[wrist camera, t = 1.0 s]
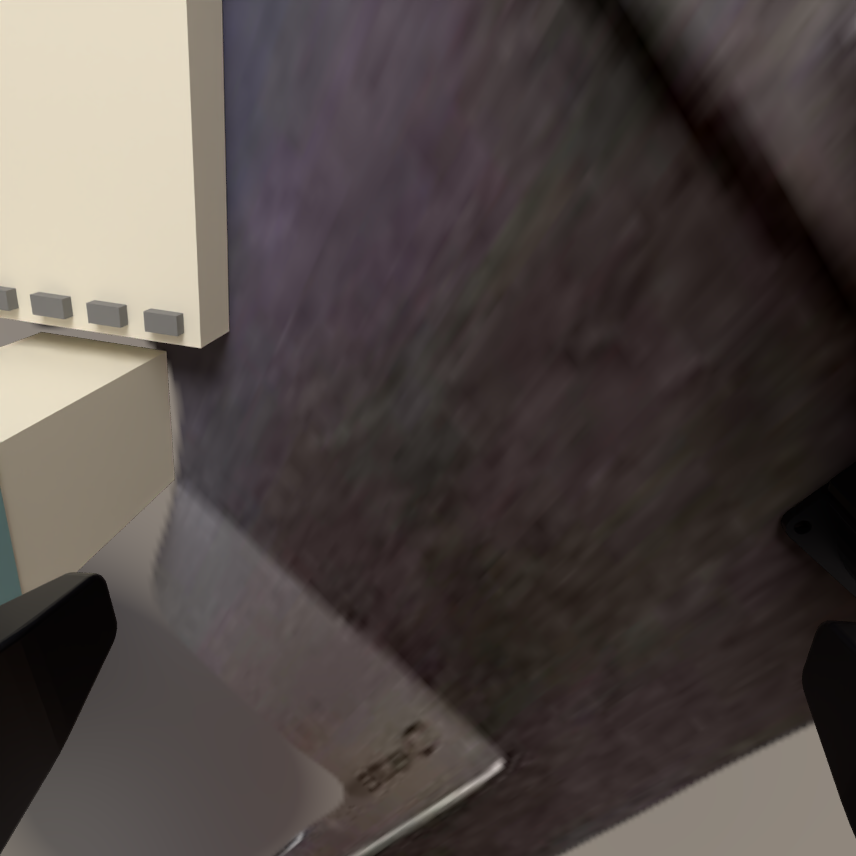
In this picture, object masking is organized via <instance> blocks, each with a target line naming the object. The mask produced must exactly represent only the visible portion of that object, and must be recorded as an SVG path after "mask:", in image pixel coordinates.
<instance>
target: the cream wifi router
mask: <svg viewBox="0 0 856 856" xmlns="http://www.w3.org/2000/svg"><path fill="white" fill-rule="evenodd" d="M0 318H5V319H12V320H18V321H25V322H31V323H38V324H44V325H51V326H58V327H64V328H71V329H78V330H84V331H91V332H97V333H104V334H110V335H117V336H123V337H130V338H137V339H143V340H150V341H156V342H163V343H170V344H176V345H183V346H189V347H196V348H202V347H204V346H206V345H207V344H209V343H210V342H212V341H214V340H215V339H217V338H219V337H220V336H222V335H224V334H225V333H227V332H229V299H228V253H227V208H226V162H225V117H224V72H223V26H222V0H0Z"/></svg>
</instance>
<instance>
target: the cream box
mask: <svg viewBox="0 0 856 856" xmlns="http://www.w3.org/2000/svg"><path fill="white" fill-rule="evenodd" d="M174 480H175V473H174V459H173V443H172V428H171V413H170V399H169V383H168V367H167V352H166V351H163V350H156V349H150V348H143V347H136V346H130V345H123V344H117V343H110V342H103V341H97V340H90V339H84V338H78V337H71V336H64V335H58V334H51V333H45V332H40V333H38V334H35V335H32V336H30V337H27V338H24V339H21V340H19V341H16V342H13V343H10V344H8V345H5V346H2V347H0V605H2V604H4V603H6V602H8V601H10V600H12V599H14V598H16V597H18V596H21V595H23V594H25V593H27V592H29V591H31V590H33V589H35V588H37V587H39V586H41V585H43V584H45V583H47V582H49V581H51V580H54V579H56V578H58V577H60V576H62V575H64V574H66V573H70V572H77V571H78V570H79V569H80V568H81V567H82V566H83V565H85V563H87V562H88V561H89V560H90V559H91V558H92V557H93V556H94V555H95V554H96V553H97V552H98V551H99V550H100V549H101V548H103V547H104V546H105V545H106V544H107V543H108V542H109V541H110V540H111V539H112V538H113V537H114V536H115V535H116V534H117V533H118V532H120V531H121V530H122V529H123V528H124V527H125V526H126V525H127V524H128V523H129V522H130V521H131V520H132V519H133V518H134V517H136V516H137V515H138V514H139V513H140V512H141V511H142V510H143V509H144V508H145V507H146V506H147V505H148V504H149V503H150V502H151V501H153V500H154V499H155V498H156V497H157V496H158V495H159V494H160V493H161V492H162V491H163V490H164V489H165V488H166V487H167V486H168V485H170V484H171V483H172V482H173V481H174Z"/></svg>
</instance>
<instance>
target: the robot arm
mask: <svg viewBox="0 0 856 856" xmlns="http://www.w3.org/2000/svg"><path fill="white" fill-rule="evenodd" d="M800 521H806V523H805V524H804V525H803V526H801V527H795V525H796V524H797V523H798V522H800ZM781 525H782V527H783V529H784V530H785V532H786V533H787V534H788V536H789V537H790V538H791V539H792V540H793V541H794V542H796V543H797V544H798V545H799V546H800V547H801V548H802V549H803V550H804V551H805V552H807V553H808V554H809V555H810V556H811V557H812V558H813V559H814V560H815V561H816V562H818V563H819V564H820V565H821V566H822V567H823V568H824V569H825V570H826V571H827V572H828V573H830V574H831V575H832V576H833V577H834V578H835V579H836V580H837V581H838V582H839V583H841V584H842V585H843V586H844V587H845V588H846V589H847V590H848V591H849V592H850V593H852V594H853V595H854V596H855V597H856V462H855V463H854V464H852V465H851V466H849V467H848V468H847V469H845V470H844V471H842V472H841V473H840V474H838V475H837V476H835V477H834V478H833V479H831V481H830V482H828V483H827V484H825V485H824V486H823V487H821V488H820V489H818V490H817V491H816V492H814V493H813V494H811V495H810V496H809V497H807V498H806V499H804V500H803V501H802V502H800V503H799V504H797V505H796V506H795V507H793V508H792V509H790V510H789V511H788V512H787V513H786V514H785V515H784V516H783V518H782V520H781ZM116 631H117V621H116V617H115V613H114V609H113V606H112V602H111V598H110V595H109V591H108V587H107V584H106V581H105V580H104V578H103V577H102V576H101V575H98V574H95V573H80V572H79V573H78V572H70V573H66V574H64V575H62V576H60V577H58V578H56V579H54V580H51V581H49V582H47V583H45V584H43V585H41V586H39V587H37V588H35V589H33V590H31V591H29V592H27V593H25V594H23V595H21V596H18V597H16V598H14V599H12V600H10V601H8V602H6V603H4V604H2V605H0V854H1V852H2V851H3V849H4V847H5V846H6V844H7V842H8V841H9V839H10V837H11V835H12V834H13V832H14V831H15V829H16V827H17V825H18V824H19V822H20V820H21V818H22V817H23V815H24V814H25V812H26V810H27V809H28V807H29V805H30V804H31V802H32V800H33V799H34V797H35V795H36V793H37V792H38V790H39V788H40V787H41V785H42V783H43V782H44V780H45V778H46V777H47V775H48V773H49V772H50V770H51V768H52V766H53V765H54V763H55V761H56V759H57V757H58V756H59V754H60V752H61V750H62V748H63V746H64V744H65V742H66V740H67V739H68V736H69V735H70V732H71V731H72V728H73V726H74V724H75V722H76V720H77V717H78V716H79V714H80V712H81V710H82V707H83V705H84V703H85V701H86V699H87V697H88V695H89V693H90V691H91V688H92V686H93V684H94V682H95V680H96V678H97V676H98V674H99V672H100V669H101V667H102V665H103V663H104V661H105V659H106V657H107V655H108V653H109V651H110V649H111V646H112V644H113V642H114V639H115V636H116ZM802 684H803V690H804V693H805V696H806V699H807V702H808V705H809V708H810V711H811V714H812V717H813V720H814V723H815V726H816V729H817V732H818V734H819V737H820V740H821V743H822V746H823V749H824V752H825V755H826V758H827V761H828V764H829V767H830V770H831V772H832V776H833V778H834V782H835V784H836V787H837V790H838V793H839V796H840V799H841V802H842V805H843V807H844V810H845V812H846V815H847V818H848V820H849V823H850V826H851V828H852V830H853V833H854V835H855V837H856V622H843V621H826V622H823V623H822V624H821V625H820V626H819V627H818V629H817V631H816V634H815V637H814V640H813V643H812V645H811V648H810V651H809V654H808V657H807V660H806V663H805V666H804V669H803V675H802Z"/></svg>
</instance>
